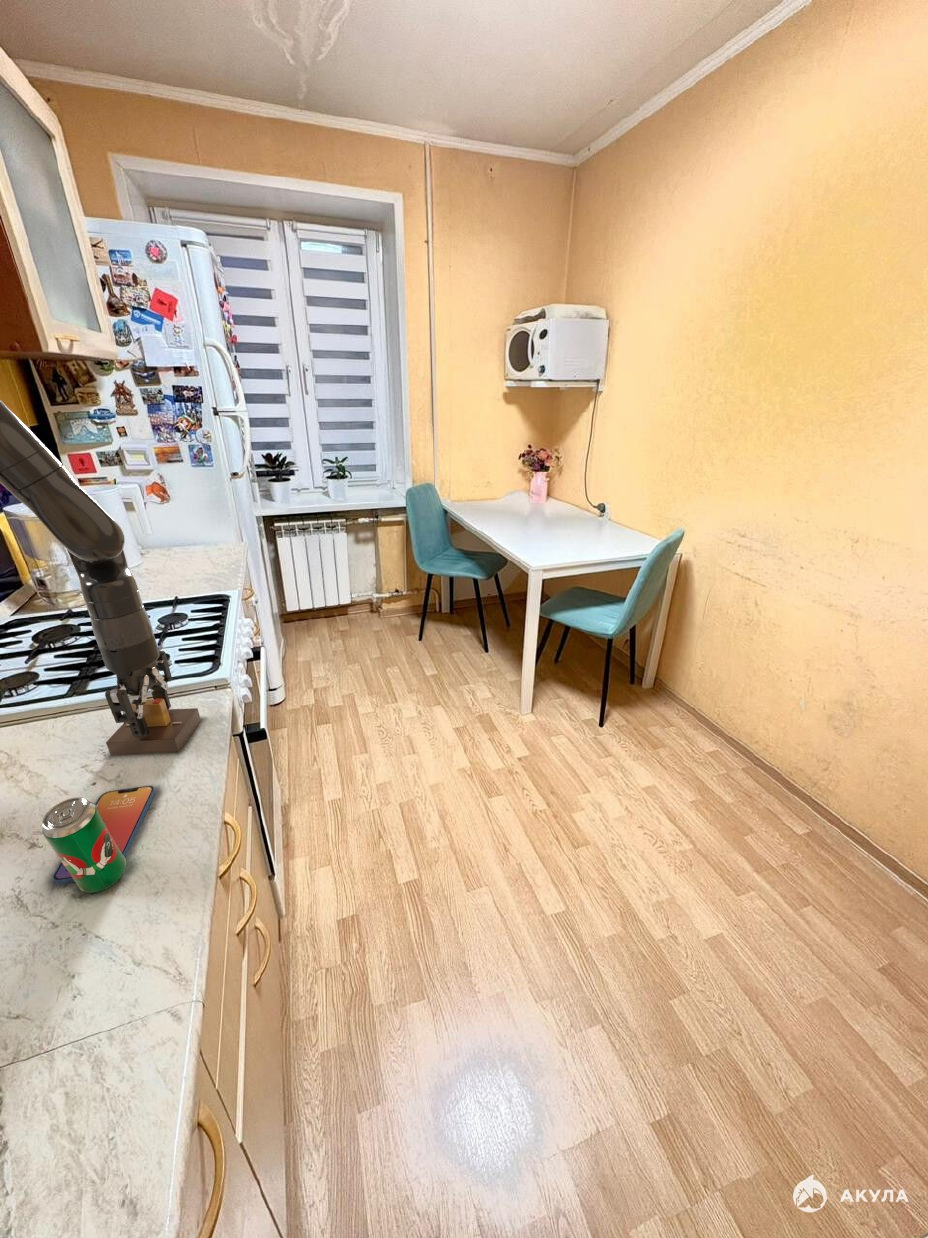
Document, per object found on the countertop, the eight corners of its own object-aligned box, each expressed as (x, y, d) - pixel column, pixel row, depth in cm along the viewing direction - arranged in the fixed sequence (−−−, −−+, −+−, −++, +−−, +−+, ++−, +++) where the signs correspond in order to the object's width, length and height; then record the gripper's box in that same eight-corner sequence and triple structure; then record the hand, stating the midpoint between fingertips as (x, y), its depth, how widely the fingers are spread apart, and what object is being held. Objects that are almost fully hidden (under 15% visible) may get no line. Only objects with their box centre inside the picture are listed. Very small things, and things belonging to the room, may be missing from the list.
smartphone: (51, 888, 61) (48, 882, 60) (103, 797, 74) (101, 792, 74) (118, 876, 62) (116, 870, 62) (158, 789, 75) (156, 784, 75)
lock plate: (111, 757, 83) (105, 741, 81) (139, 724, 91) (134, 709, 90) (179, 753, 83) (174, 738, 82) (201, 721, 91) (197, 707, 90)
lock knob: (136, 727, 85) (128, 704, 83) (141, 722, 86) (133, 698, 84) (166, 726, 85) (159, 703, 83) (171, 720, 87) (164, 697, 85)
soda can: (124, 849, 65) (89, 787, 59) (131, 879, 62) (95, 816, 55) (77, 872, 62) (36, 809, 56) (82, 904, 59) (39, 841, 53)
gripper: (126, 618, 85) (152, 699, 92) (71, 659, 72) (106, 750, 79) (171, 616, 85) (194, 698, 92) (124, 657, 72) (155, 748, 79)
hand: (153, 721), depth 86 cm, fingers open, 7 cm apart
